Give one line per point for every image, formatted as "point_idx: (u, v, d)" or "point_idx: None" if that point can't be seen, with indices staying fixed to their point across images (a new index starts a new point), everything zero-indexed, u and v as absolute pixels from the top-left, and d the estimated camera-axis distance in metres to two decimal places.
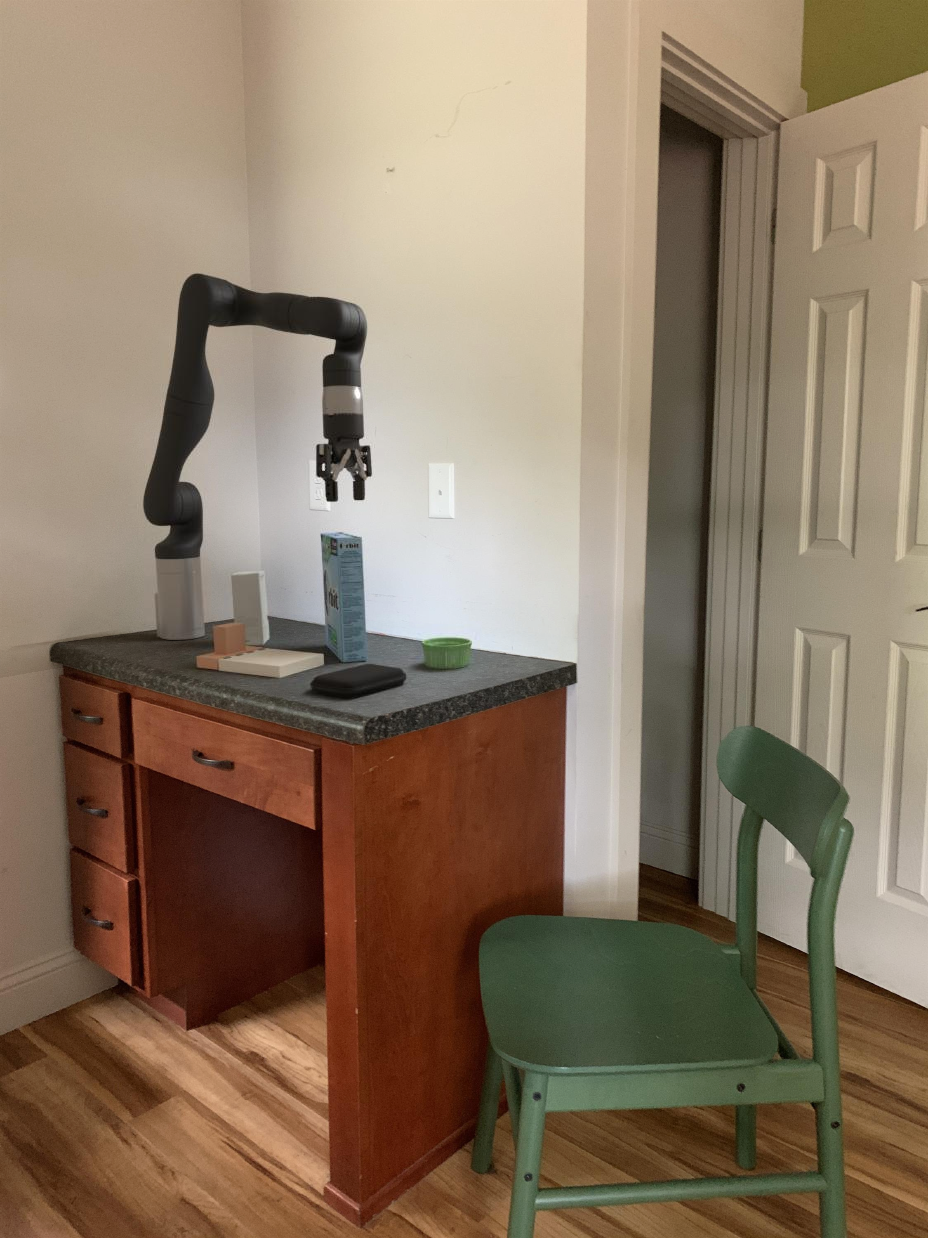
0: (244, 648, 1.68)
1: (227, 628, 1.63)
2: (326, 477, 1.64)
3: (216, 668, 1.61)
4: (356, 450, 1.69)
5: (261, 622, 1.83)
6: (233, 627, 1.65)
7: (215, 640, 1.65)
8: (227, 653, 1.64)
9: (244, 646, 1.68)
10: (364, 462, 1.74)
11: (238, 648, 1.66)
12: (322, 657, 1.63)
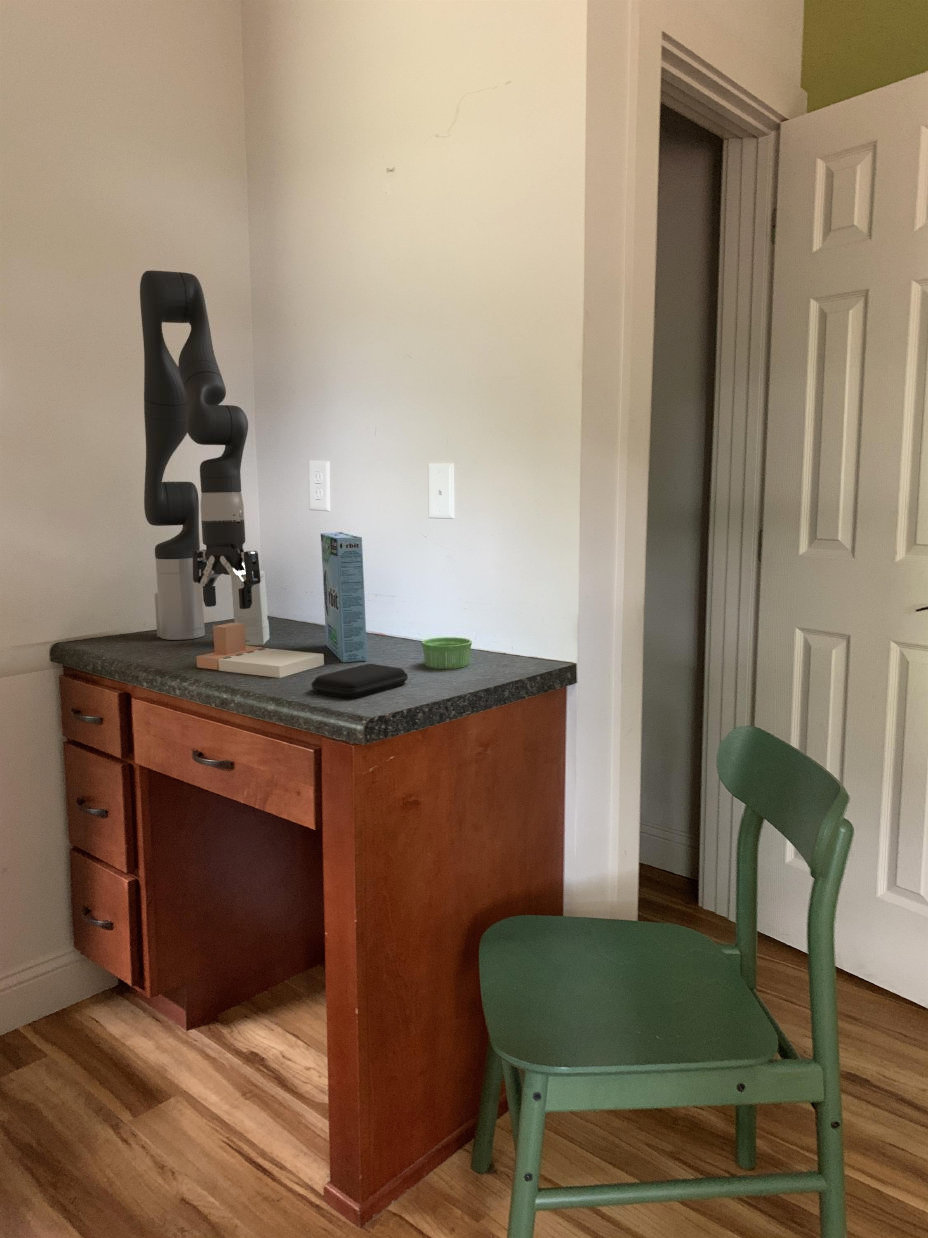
0: (244, 648, 1.68)
1: (227, 628, 1.63)
2: (254, 584, 1.62)
3: (216, 668, 1.61)
4: None
5: (261, 622, 1.83)
6: (233, 627, 1.65)
7: (215, 640, 1.65)
8: (227, 653, 1.64)
9: (244, 646, 1.68)
10: (204, 567, 1.67)
11: (238, 648, 1.66)
12: (322, 657, 1.63)
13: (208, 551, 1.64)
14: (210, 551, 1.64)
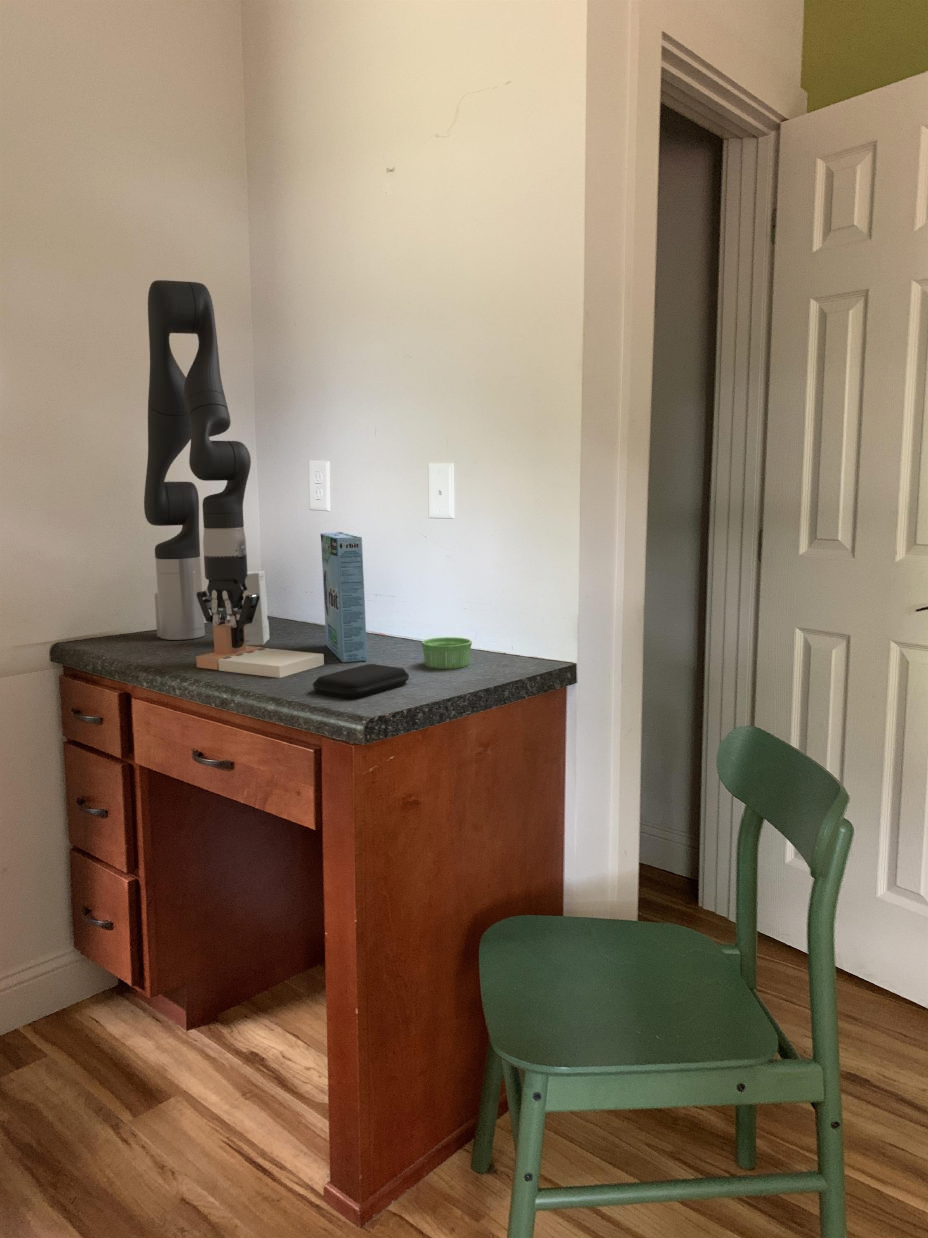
0: (244, 648, 1.68)
1: (227, 628, 1.63)
2: (246, 624, 1.64)
3: (216, 668, 1.61)
4: None
5: (261, 622, 1.83)
6: None
7: (215, 640, 1.65)
8: (227, 653, 1.64)
9: (244, 646, 1.68)
10: (212, 606, 1.68)
11: (238, 648, 1.66)
12: (322, 657, 1.63)
13: (209, 585, 1.65)
14: (211, 584, 1.65)
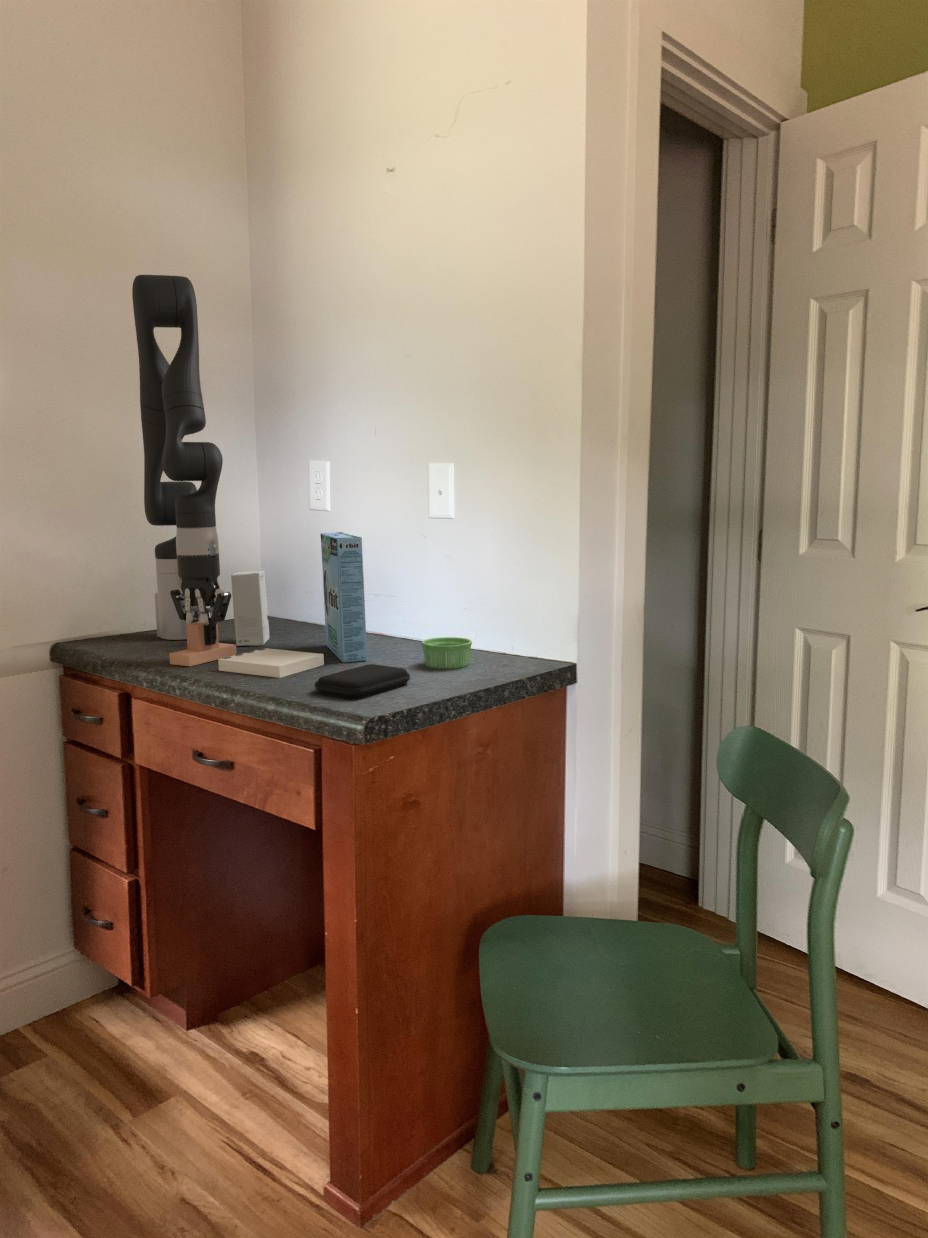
0: (217, 645, 1.71)
1: (200, 626, 1.67)
2: (219, 621, 1.68)
3: (188, 665, 1.64)
4: None
5: (261, 622, 1.83)
6: None
7: (188, 637, 1.68)
8: (200, 650, 1.67)
9: (217, 643, 1.71)
10: None
11: (211, 646, 1.70)
12: (322, 657, 1.63)
13: (182, 583, 1.69)
14: (184, 582, 1.68)
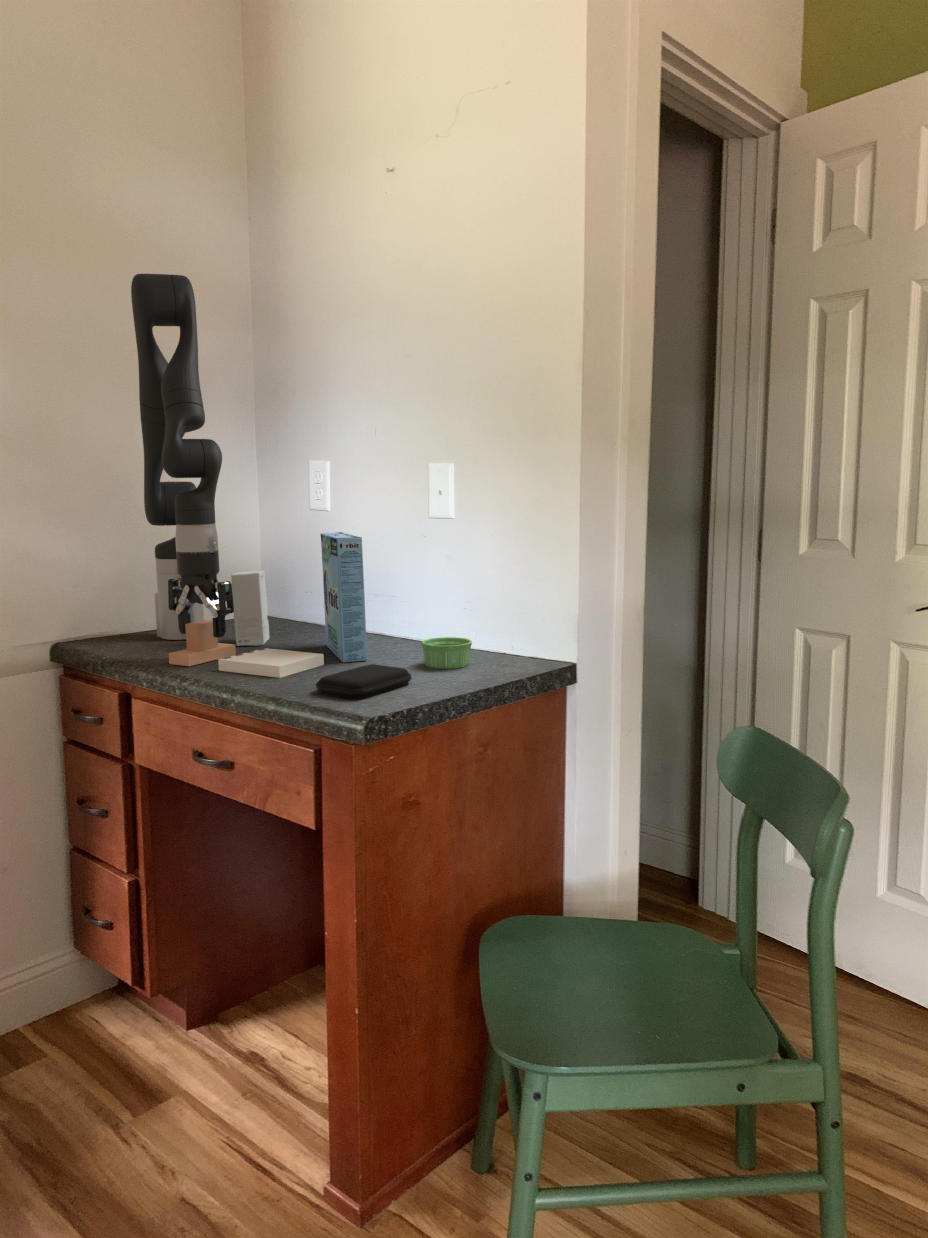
0: (216, 645, 1.71)
1: (199, 625, 1.67)
2: None
3: (187, 665, 1.64)
4: None
5: (261, 622, 1.83)
6: (205, 624, 1.68)
7: (187, 637, 1.68)
8: (199, 650, 1.67)
9: (216, 643, 1.71)
10: (179, 595, 1.72)
11: (210, 645, 1.70)
12: (322, 657, 1.63)
13: (183, 580, 1.69)
14: (185, 580, 1.68)
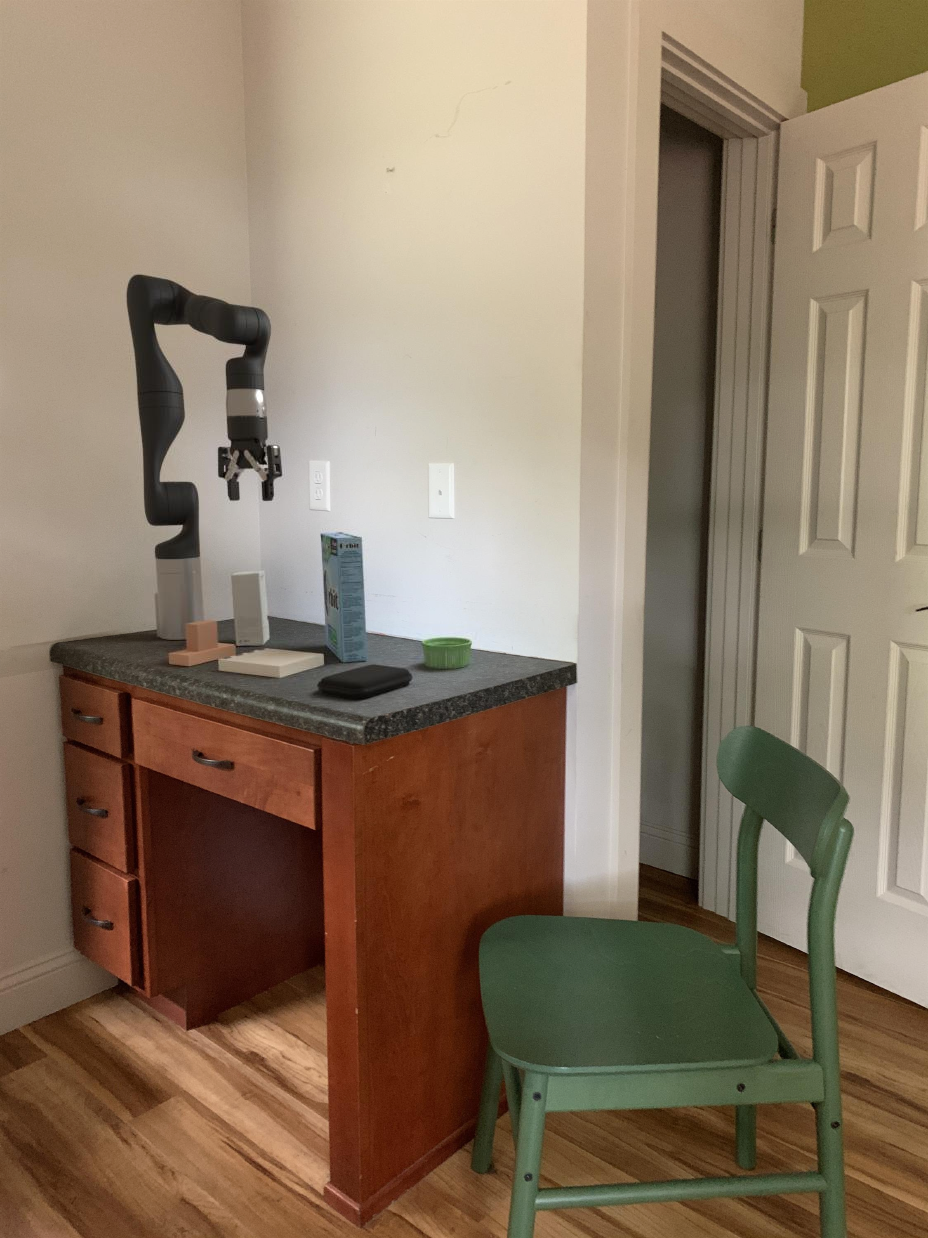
0: (216, 645, 1.71)
1: (199, 625, 1.67)
2: (276, 477, 1.71)
3: (187, 665, 1.64)
4: None
5: (261, 622, 1.83)
6: (205, 624, 1.68)
7: (187, 637, 1.68)
8: (199, 650, 1.67)
9: (216, 643, 1.71)
10: (228, 463, 1.77)
11: (210, 645, 1.70)
12: (322, 657, 1.63)
13: (233, 447, 1.74)
14: (234, 446, 1.74)
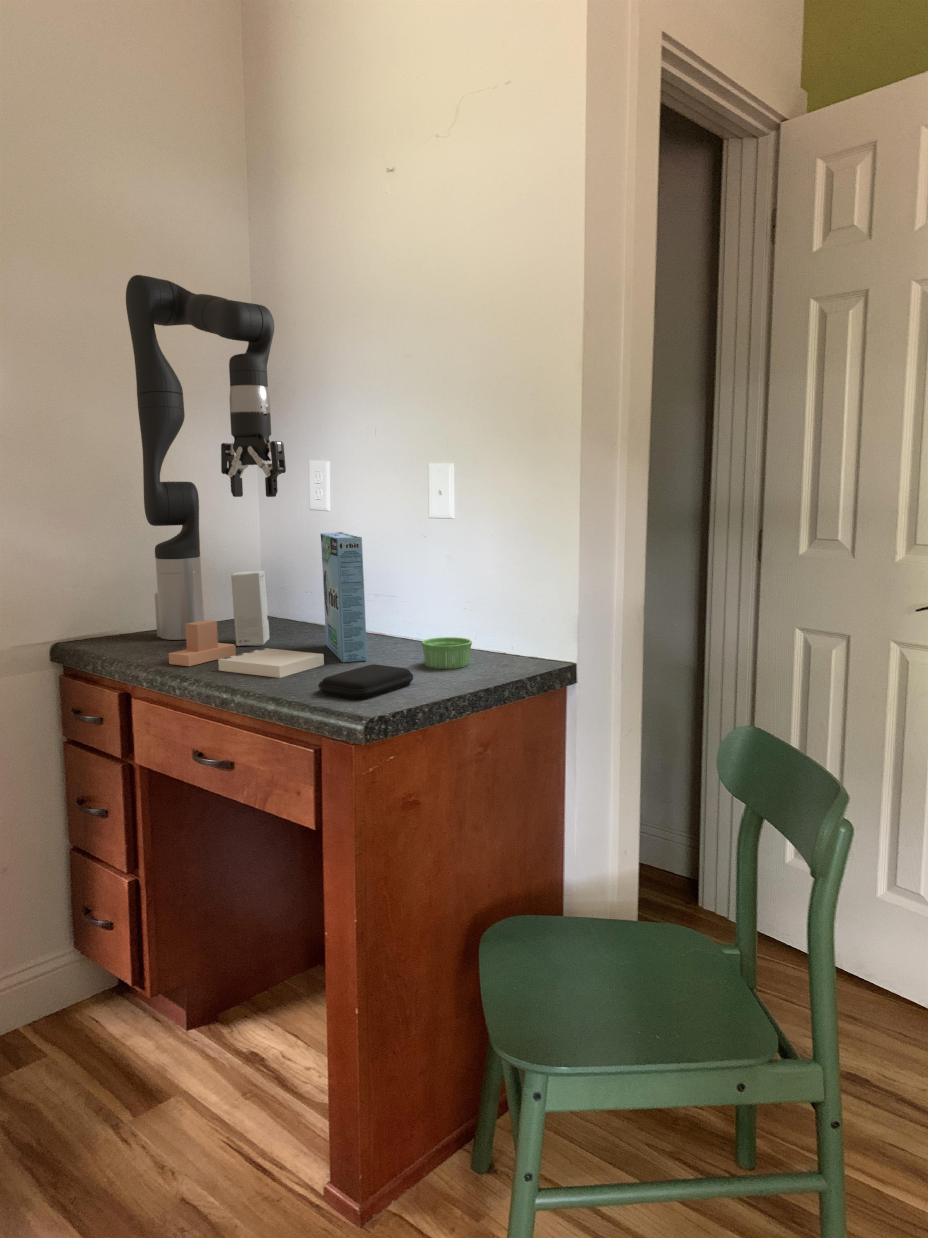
0: (216, 645, 1.71)
1: (199, 625, 1.67)
2: (280, 473, 1.72)
3: (187, 665, 1.64)
4: None
5: (261, 622, 1.83)
6: (205, 624, 1.68)
7: (187, 637, 1.68)
8: (199, 650, 1.67)
9: (216, 643, 1.71)
10: (231, 459, 1.78)
11: (210, 645, 1.70)
12: (322, 657, 1.63)
13: (236, 443, 1.74)
14: (238, 443, 1.74)
